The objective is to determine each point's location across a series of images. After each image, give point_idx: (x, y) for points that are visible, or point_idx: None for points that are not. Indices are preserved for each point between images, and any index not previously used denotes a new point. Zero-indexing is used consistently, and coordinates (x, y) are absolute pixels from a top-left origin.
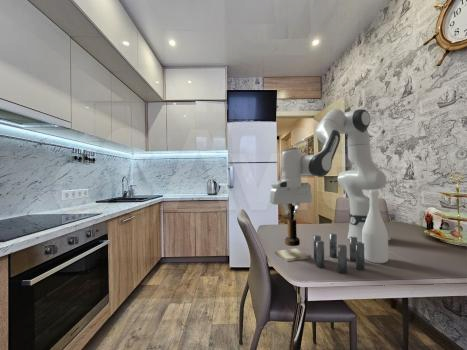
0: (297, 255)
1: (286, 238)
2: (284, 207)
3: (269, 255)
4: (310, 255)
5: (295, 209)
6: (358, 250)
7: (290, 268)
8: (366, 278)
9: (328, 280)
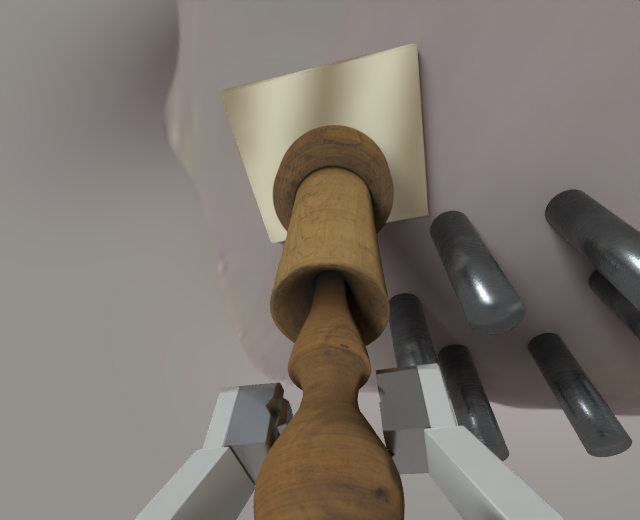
0: None
1: (281, 200)
2: (159, 506)
3: (182, 123)
4: (424, 214)
5: (401, 472)
6: (570, 421)
7: (267, 303)
8: (490, 395)
9: (362, 389)
